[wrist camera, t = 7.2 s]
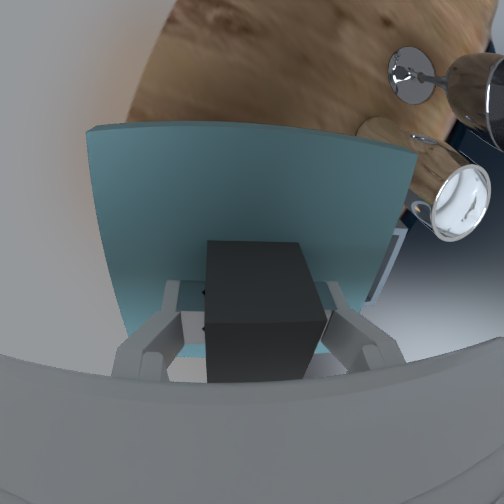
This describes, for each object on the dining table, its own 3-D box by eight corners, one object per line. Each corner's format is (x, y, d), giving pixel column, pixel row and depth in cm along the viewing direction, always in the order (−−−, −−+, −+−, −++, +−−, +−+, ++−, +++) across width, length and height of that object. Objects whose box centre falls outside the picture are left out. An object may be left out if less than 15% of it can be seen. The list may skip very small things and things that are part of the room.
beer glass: (338, 143, 29) (414, 211, 17) (378, 100, 26) (476, 142, 14) (375, 180, 32) (449, 257, 20) (412, 141, 29) (500, 201, 17)
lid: (96, 125, 9) (18, 177, 5) (405, 147, 10) (487, 203, 6) (137, 340, 16) (125, 417, 12) (335, 338, 17) (358, 408, 13)
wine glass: (448, 74, 23) (545, 107, 11) (419, 121, 27) (512, 173, 15) (404, 29, 21) (510, 36, 9) (372, 79, 24) (473, 109, 12)
